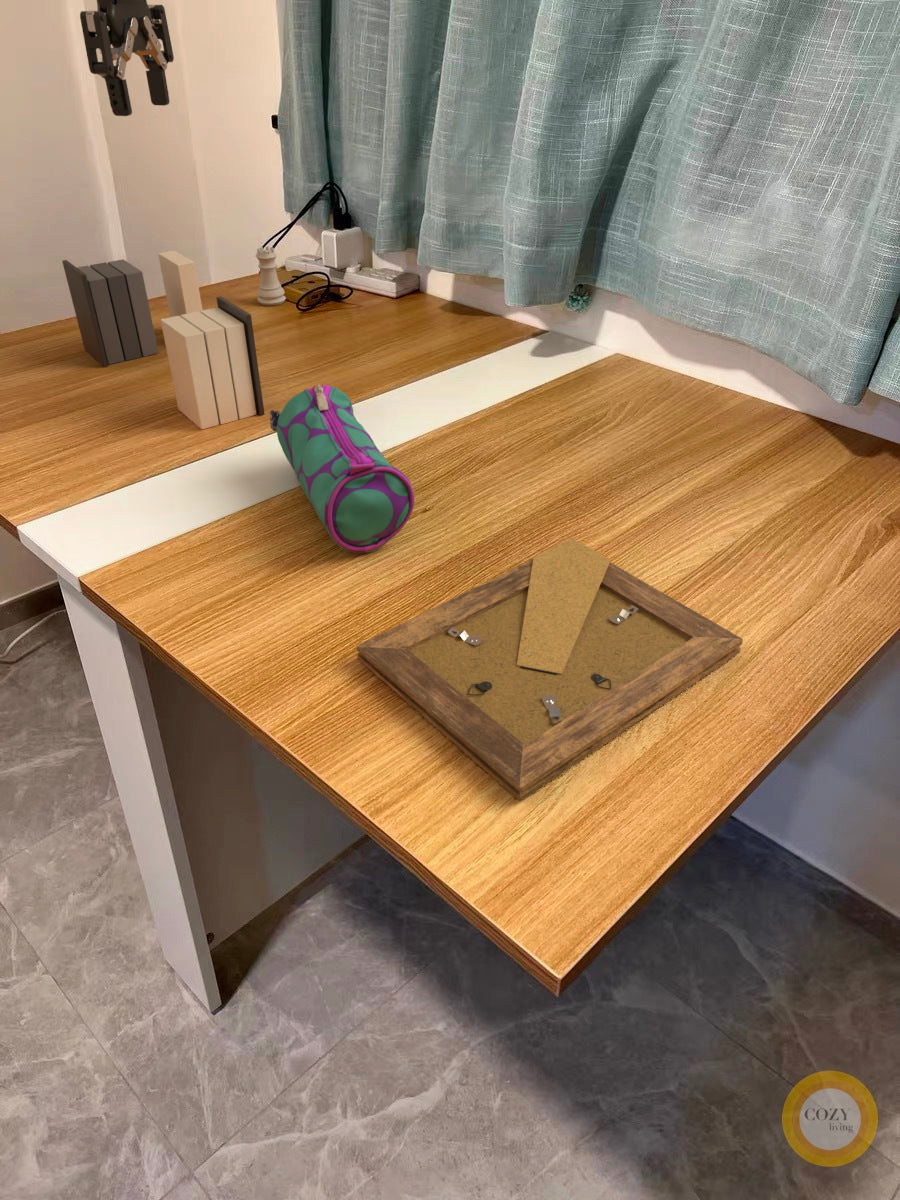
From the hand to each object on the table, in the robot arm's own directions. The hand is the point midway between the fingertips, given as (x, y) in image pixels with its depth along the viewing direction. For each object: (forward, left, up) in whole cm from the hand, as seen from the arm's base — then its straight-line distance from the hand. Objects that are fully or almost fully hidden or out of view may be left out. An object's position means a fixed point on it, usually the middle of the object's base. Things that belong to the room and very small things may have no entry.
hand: (142, 110), depth 108 cm
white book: (+1, +1, -29) cm, 29 cm away
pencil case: (-5, -53, -29) cm, 60 cm away
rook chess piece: (+18, +8, -29) cm, 35 cm away
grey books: (-8, +1, -29) cm, 30 cm away
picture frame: (-4, -83, -29) cm, 88 cm away
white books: (-6, -25, -29) cm, 38 cm away
